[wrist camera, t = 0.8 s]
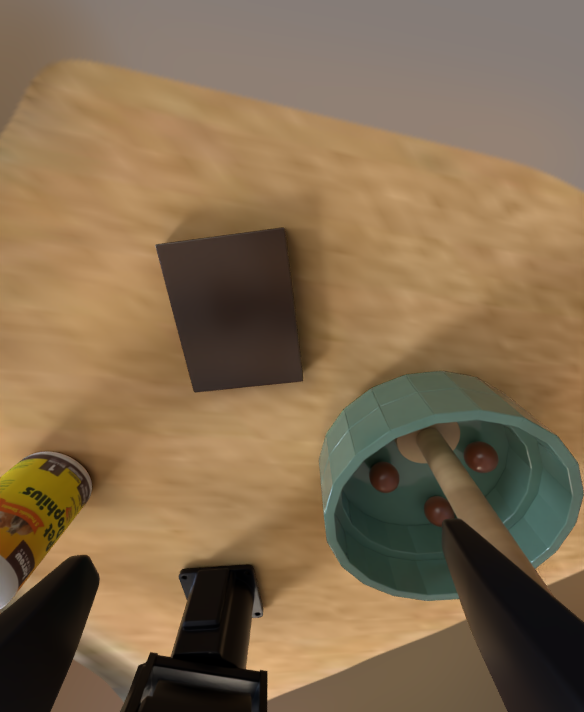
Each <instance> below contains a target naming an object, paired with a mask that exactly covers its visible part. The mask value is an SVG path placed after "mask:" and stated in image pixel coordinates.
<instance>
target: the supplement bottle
mask: <svg viewBox="0 0 584 712" xmlns="http://www.w3.org/2000/svg"><path fill="white" fill-rule="evenodd" d="M91 492H92V482H91V479H90V476H89V474H88V473H87V471H86V470H85V468H84V467H83V466H82V465H81V464H80V463H78V462H77V461H76V460H74V459H72V458H71V457H69V456H66V455H64V454H61V453H57V452H47V451H46V452H38V453H34V454H31V455H29V456H27V457H25V458H24V459H23V460H21V461H20V462H19V463H17V464H16V465H15V466H14V467H13V468H11V469H10V470H9V471H8V472H6V473H5V474H4V475H3V476H2V477H0V609H1V608H3V607H4V606H5V605H6V604H8V603H9V601H10V600H11V599H12V598H13V597H14V596H15V594H16V593H17V592H18V590H19V589H20V588H21V587H22V585H23V584H24V583H25V581H26V580H27V579H28V578H29V576H30V575H31V574H32V572H33V571H34V570H35V569H36V567H37V566H38V565H39V563H40V562H41V561H42V560H43V558H44V557H45V556H46V554H47V553H48V552H49V551H50V549H51V548H52V547H53V545H54V544H55V543H56V541H57V540H58V539H59V538H60V536H61V535H62V534H63V532H64V531H65V530H66V529H67V527H68V526H69V525H70V523H71V522H72V521H73V519H74V518H75V517H76V516H77V514H78V513H79V512H80V510H81V509H82V508H83V507H84V505H85V504H86V503H87V501H88V499H89V498H90V496H91Z"/></svg>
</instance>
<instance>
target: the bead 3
mask: <svg viewBox="0 0 584 712" xmlns="http://www.w3.org/2000/svg"><path fill="white" fill-rule="evenodd" d="M463 456H464V460H465V462H466V464H467V465H468V467H470V468H471V469H472V470H474V471H476V472H479V473H488V472H491V471H493V470H494V469H495V468H496V467H497V465H498V461H499V458H498V454H497V452H496V450H495V449H494V448H493V447H492V446H491V445H489V444H488V443H485V442H482V441H475V442H472V443H470V444H468V445H467V446H466V448H465V449H464V453H463Z"/></svg>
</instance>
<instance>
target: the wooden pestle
mask: <svg viewBox="0 0 584 712" xmlns="http://www.w3.org/2000/svg"><path fill="white" fill-rule="evenodd" d="M459 439H460V428H459V425H458V423H457V422H450V423H439V424H434V425H432V426H429V427H426V428H423V429H420V430H418V431H415V432H412V433H409V434H406V435H404V436H401V437H398V438H395V439H394V441H395V443H396V445H397V447H398V450H399V451H400V453H401V454H402V455H403V456H404V457H405V458H407V459H408V460H410V461H413V462H416V463H428V465H429V467H430V469H431V471H432V472H433V474H434V476H435V478H436V480H437V481H438V483H439V485H440V487H441V489H442V491H443V492H444V494H445V496H446V498H447V500H448V501H449V503H450V505H451V507H452V509H453V511H454V512H455V514H456V516H457V518H459V519H462V520H463V521H465V522H466V523H467V524H468V525H469V526H470V527H472V528H473V529H474V530H475V531H476V532H478V533H479V534H480V535H481V536H482V537H483V538H485V539H486V540H487V541H488V542H489V543H491V544H492V545H493V546H494V547H495V548H497V549H498V550H499V551H500V552H501V553H502V554H504V555H505V556H506V557H507V558H508V559H510V560H511V561H512V562H513V563H514V564H515V565H517V566H518V567H519V568H520V569H521V570H523V571H524V572H525V573H526V574H527V575H528V576H530V577H531V578H532V579H533V580H534V581H536V582H537V583H538V584H539V585H540V586H542V587H543V588H544V589H545V590H546V591H547V592H549V593H550V594H551V595H552V596H553V594H552V593H551V592H550V590H549V589H548V587H547V586H546V584H545V583H544V581H543V580H542V578H541V577H540V576H539V574H538V573H537V571H536V570H535V568H534V567H533V566H532V564H531V563H530V561H529V560H528V558H527V557H526V555H525V554H524V553H523V551H522V550H521V548H520V547H519V545H518V544H517V542H516V541H515V540H514V538H513V537H512V535H511V534H510V532H509V531H508V530H507V528H506V527H505V525H504V524H503V522H502V521H501V519H500V518H499V517H498V515H497V514H496V512H495V511H494V509H493V508H492V506H491V505H490V504H489V502H488V501H487V499H486V498H485V496H484V495H483V494H482V492H481V491H480V489H479V488H478V486H477V485H476V483H475V482H474V481H473V479H472V478H471V476H470V475H469V473H468V472H467V470H466V469H465V468H464V466H463V465H462V463H461V462H460V460H459V459H458V458H457V456H456V455H455V453H454V452H453V450H454V449H455V448H456V446H457V444H458V442H459ZM553 597H554V596H553Z"/></svg>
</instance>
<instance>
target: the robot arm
mask: <svg viewBox="0 0 584 712" xmlns="http://www.w3.org/2000/svg"><path fill="white" fill-rule="evenodd" d="M442 550H443V554H444V557H445V559H446V562H447V565H448V568H449V571H450V574H451V576H452V579H453V582H454V585H455V588H456V591H457V593H458V596H459V599H460V602H461V605H462V608H463V610H464V613H465V616H466V619H467V622H468V624H469V626H470V629H471V632H472V634H473V636H474V638H475V641H476V643H477V646H478V647H479V650H480V652H481V654H482V657H483V659H484V661H485V663H486V665H487V667H488V670H489V672H490V674H491V676H492V678H493V681H494V682H495V685H496V687H497V689H498V692H499V694H500V696H501V698H502V700H503V702H504V705H505V707H506V709H507V711H508V712H584V622H583V621H582V620H581V619H579V618H578V617H577V616H576V615H575V614H573V613H572V612H571V611H570V610H568V608H566V607H565V606H564V605H563V604H562V603H560V602H559V601H558V600H557V599H556V598H555V597H553V596H552V595H551V594H550V593H549V592H547V591H546V590H545V589H544V588H543V587H542V586H540V585H539V584H538V583H537V582H536V581H534V580H533V579H532V578H531V577H530V576H528V575H527V574H526V573H525V572H524V571H523V570H521V569H520V568H519V567H518V566H517V565H515V564H514V563H513V562H512V561H511V560H510V559H508V558H507V557H506V556H505V555H504V554H502V553H501V552H500V551H499V550H498V549H497V548H495V547H494V546H493V545H492V544H491V543H489V542H488V541H487V540H486V539H485V538H483V537H482V536H481V535H480V534H479V533H478V532H476V531H475V530H474V529H473V528H472V527H470V526H469V525H468V524H467V523H466V522H465V521H463V520H462V519H459V518H455V519H445V520H443V522H442ZM179 580H180V582H181V585H182V588H183V590H184V593H185V596H186V598H187V603H186V607H185V610H184V613H183V617H182V620H181V624H180V627H179V630H178V634H177V637H176V640H175V644H174V647H173V651H172V654H171V657H166V656H160V655H158V653H152V652H150V655H149V657H148V660H147V662H146V663H144V664H141V665H139V666H138V669H137V671H136V674H135V677H134V680H133V682H132V685H131V688H130V690H129V693H128V695H127V698H126V700H125V702H124V704H123V707H122V709H121V711H120V712H267V671H263V670H260V672H259V671H253V670H247V669H246V663H247V655H248V646H249V638H250V629H251V621H252V618H259V617H262V616H263V605H262V601H261V597H260V592H259V588H258V584H257V580H256V576H255V572H254V568H253V566H251V565H234V566H219V567H205V568H191V569H182V570H181V571H180V574H179ZM99 581H100V578H99V574H98V572H97V570H96V568H95V566H94V564H93V563H92V561H91V559H90V557H89V556H87V555H77V556H72V557H69V558H68V559H66V560H65V561H64V562H63V563H62V564H60V565H59V566H58V567H57V568H55V569H54V570H53V571H52V572H51V573H49V574H48V575H47V576H46V577H45V578H43V579H42V580H41V581H40V582H39V583H37V584H36V585H35V586H34V587H33V588H31V589H30V590H29V591H28V592H27V593H25V594H24V595H23V596H22V597H21V598H19V599H18V600H17V601H16V602H14V603H13V604H12V605H11V606H10V607H8V608H7V609H6V610H5V611H4V612H2V613H1V614H0V712H50V711H51V709H52V706H53V704H54V702H55V700H56V697H57V695H58V693H59V691H60V688H61V686H62V684H63V681H64V679H65V677H66V675H67V672H68V670H69V667H70V665H71V662H72V660H73V658H74V655H75V652H76V650H77V647H78V644H79V641H80V638H81V636H82V633H83V630H84V627H85V624H86V621H87V618H88V615H89V613H90V610H91V607H92V604H93V601H94V598H95V595H96V592H97V590H98V586H99Z"/></svg>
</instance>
